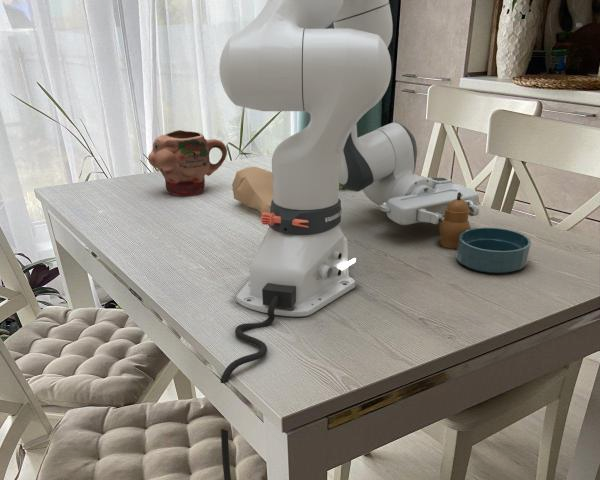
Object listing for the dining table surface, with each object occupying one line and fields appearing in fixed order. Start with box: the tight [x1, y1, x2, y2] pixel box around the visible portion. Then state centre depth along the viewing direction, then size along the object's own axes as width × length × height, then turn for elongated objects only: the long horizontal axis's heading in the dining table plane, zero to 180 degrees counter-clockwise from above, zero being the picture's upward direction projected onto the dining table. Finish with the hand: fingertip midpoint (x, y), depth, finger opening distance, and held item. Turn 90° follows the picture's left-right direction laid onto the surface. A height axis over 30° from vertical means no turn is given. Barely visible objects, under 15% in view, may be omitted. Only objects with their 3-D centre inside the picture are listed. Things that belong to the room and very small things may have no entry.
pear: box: [439, 192, 471, 250], centre depth 121 cm, size 6×6×10 cm
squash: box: [231, 166, 273, 216], centre depth 142 cm, size 11×20×9 cm, turn 25°
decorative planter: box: [147, 129, 228, 197], centre depth 155 cm, size 20×12×14 cm, turn 115°
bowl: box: [455, 226, 532, 274], centre depth 115 cm, size 13×13×4 cm
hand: (458, 215), depth 121 cm, fingers open, 8 cm apart
